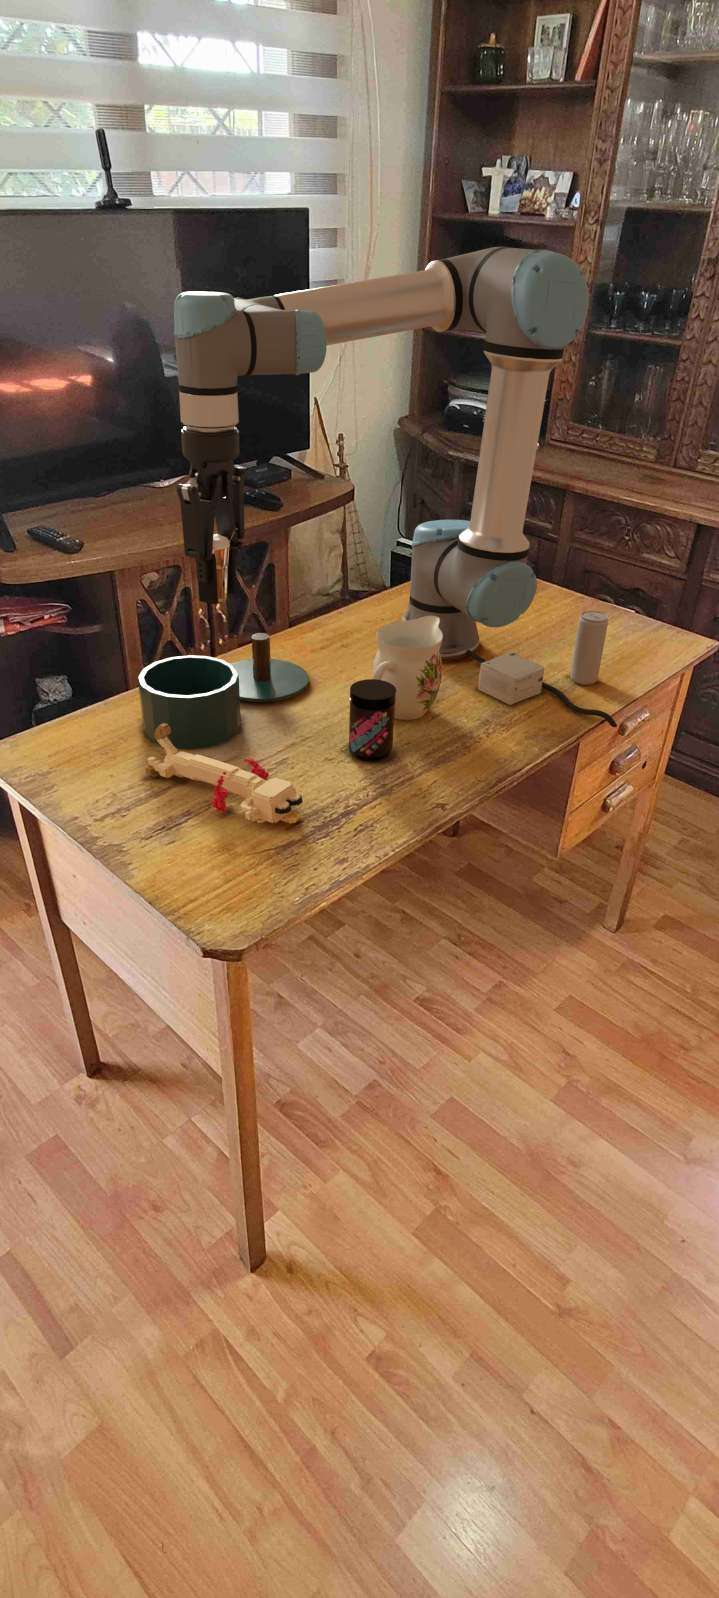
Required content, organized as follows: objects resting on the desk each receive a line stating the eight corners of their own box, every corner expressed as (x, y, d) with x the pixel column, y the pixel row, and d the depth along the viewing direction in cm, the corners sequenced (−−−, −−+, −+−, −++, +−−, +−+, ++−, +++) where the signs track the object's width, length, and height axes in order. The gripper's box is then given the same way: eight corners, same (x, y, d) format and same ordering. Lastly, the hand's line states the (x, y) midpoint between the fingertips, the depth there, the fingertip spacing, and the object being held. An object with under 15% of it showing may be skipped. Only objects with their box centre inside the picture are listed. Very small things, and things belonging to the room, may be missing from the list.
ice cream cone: (231, 605, 132) (229, 535, 127) (195, 601, 133) (191, 531, 128) (240, 595, 136) (239, 526, 131) (205, 591, 137) (203, 523, 132)
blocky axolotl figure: (137, 791, 131) (276, 840, 118) (127, 735, 126) (270, 780, 114) (186, 762, 138) (322, 806, 125) (178, 708, 133) (318, 748, 121)
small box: (510, 706, 154) (514, 678, 151) (476, 689, 159) (479, 661, 156) (541, 694, 158) (546, 666, 155) (507, 678, 163) (511, 650, 160)
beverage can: (585, 688, 160) (597, 623, 154) (563, 679, 163) (574, 614, 157) (602, 681, 163) (614, 616, 157) (580, 671, 166) (591, 608, 160)
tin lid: (324, 676, 161) (325, 629, 157) (279, 713, 149) (278, 663, 145) (247, 657, 167) (245, 611, 162) (196, 691, 155) (193, 643, 150)
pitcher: (342, 723, 147) (344, 643, 139) (402, 684, 160) (406, 608, 152) (401, 744, 142) (406, 661, 134) (458, 701, 155) (465, 624, 147)
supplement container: (338, 749, 140) (340, 687, 134) (372, 736, 144) (375, 674, 138) (368, 767, 136) (371, 704, 130) (402, 753, 140) (406, 691, 134)
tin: (257, 716, 148) (256, 667, 143) (205, 757, 137) (201, 706, 132) (180, 696, 153) (176, 648, 149) (124, 733, 142) (118, 683, 137)
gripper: (221, 412, 130) (228, 574, 142) (146, 433, 116) (161, 610, 129) (268, 418, 127) (270, 583, 140) (196, 441, 114) (206, 621, 126)
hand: (218, 596), depth 134 cm, fingers closed on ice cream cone, 4 cm apart
